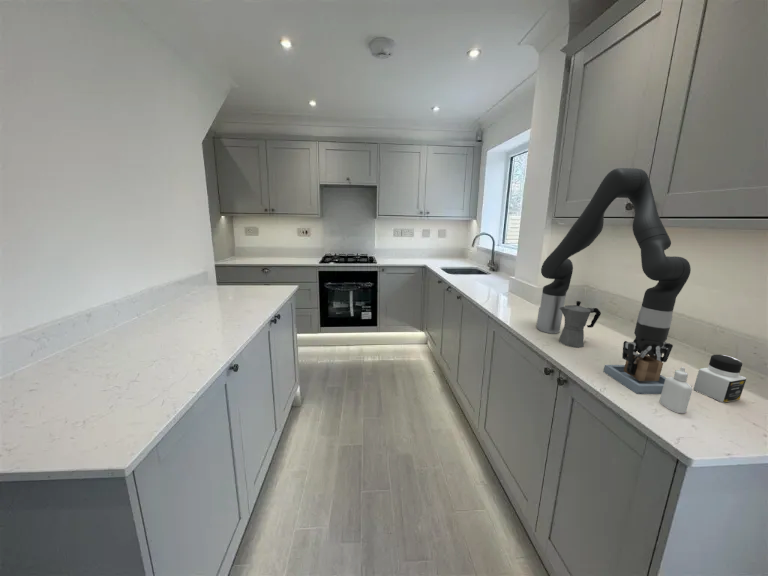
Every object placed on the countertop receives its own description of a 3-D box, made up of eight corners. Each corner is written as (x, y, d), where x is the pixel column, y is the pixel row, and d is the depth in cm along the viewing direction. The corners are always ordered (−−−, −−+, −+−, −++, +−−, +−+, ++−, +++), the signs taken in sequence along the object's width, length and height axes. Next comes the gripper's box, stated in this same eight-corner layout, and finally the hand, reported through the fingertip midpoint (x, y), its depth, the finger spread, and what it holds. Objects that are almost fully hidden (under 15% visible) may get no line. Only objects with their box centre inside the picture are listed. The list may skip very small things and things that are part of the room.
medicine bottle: (723, 403, 85) (736, 364, 82) (692, 389, 91) (703, 353, 89) (739, 400, 87) (752, 361, 84) (708, 386, 93) (719, 351, 91)
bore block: (623, 371, 97) (627, 354, 96) (641, 371, 97) (645, 354, 96) (639, 381, 91) (644, 362, 90) (658, 381, 91) (663, 362, 90)
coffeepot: (558, 346, 120) (566, 303, 116) (549, 337, 130) (556, 297, 125) (600, 349, 118) (609, 306, 114) (588, 340, 127) (596, 299, 123)
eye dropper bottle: (677, 404, 84) (688, 364, 81) (687, 415, 79) (699, 374, 76) (657, 400, 85) (667, 361, 83) (666, 411, 80) (677, 370, 78)
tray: (603, 371, 101) (604, 364, 100) (640, 371, 101) (641, 364, 101) (637, 394, 88) (639, 386, 88) (678, 393, 89) (681, 385, 88)
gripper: (664, 318, 94) (651, 367, 98) (620, 318, 94) (609, 367, 97) (688, 327, 87) (674, 379, 91) (641, 326, 86) (629, 379, 90)
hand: (640, 373), depth 94 cm, fingers closed on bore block, 6 cm apart
